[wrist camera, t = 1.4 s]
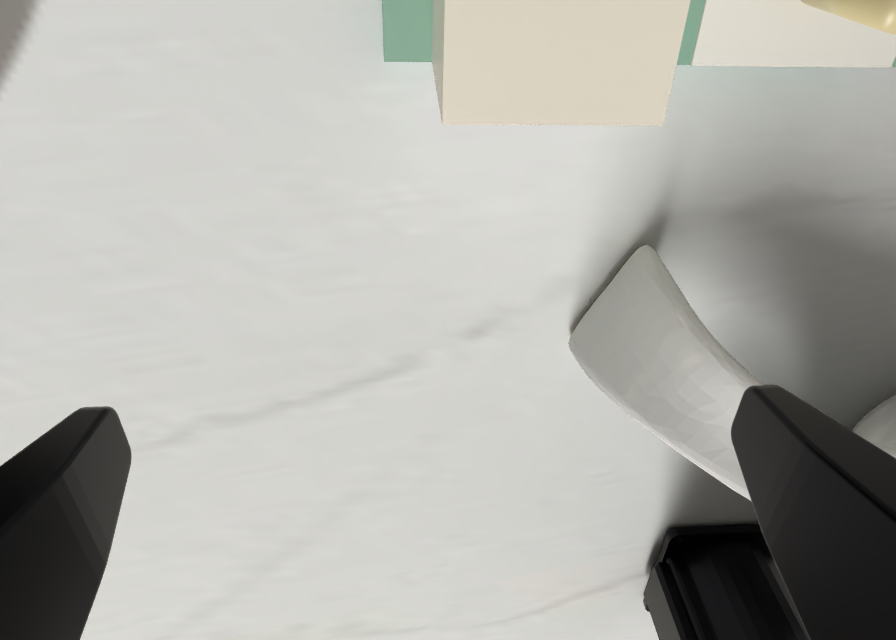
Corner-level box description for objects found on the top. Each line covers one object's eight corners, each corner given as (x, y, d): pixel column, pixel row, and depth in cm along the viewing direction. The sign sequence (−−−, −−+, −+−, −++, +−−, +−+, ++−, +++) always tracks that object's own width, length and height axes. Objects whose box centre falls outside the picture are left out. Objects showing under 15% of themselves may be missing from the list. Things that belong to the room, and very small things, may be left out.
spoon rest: (1122, 382, 28) (1316, 521, 22) (902, 541, 33) (1009, 685, 28) (696, 149, 20) (816, 264, 15) (509, 403, 26) (541, 559, 20)
